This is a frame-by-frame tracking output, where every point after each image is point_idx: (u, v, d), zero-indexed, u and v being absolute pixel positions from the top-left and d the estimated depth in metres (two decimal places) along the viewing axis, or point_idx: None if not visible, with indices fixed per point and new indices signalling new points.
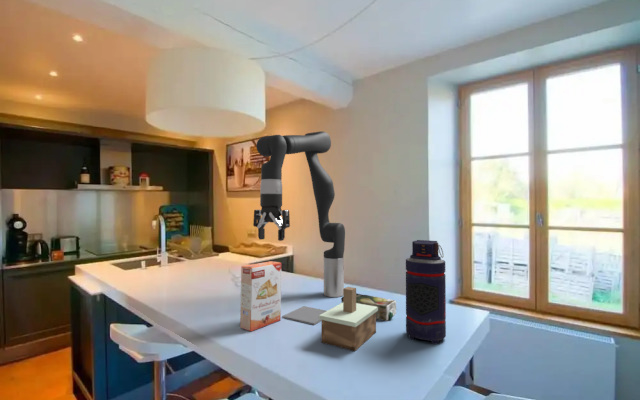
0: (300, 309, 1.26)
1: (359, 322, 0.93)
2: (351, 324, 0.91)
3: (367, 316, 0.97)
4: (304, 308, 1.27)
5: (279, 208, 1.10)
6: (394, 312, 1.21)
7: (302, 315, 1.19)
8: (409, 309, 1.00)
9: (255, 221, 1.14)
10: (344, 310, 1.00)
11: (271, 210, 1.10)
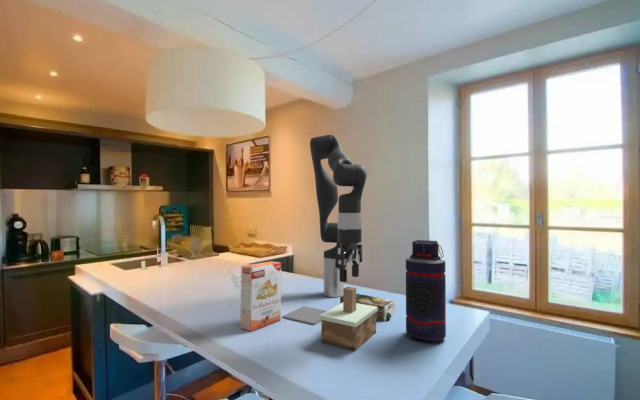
0: (300, 309, 1.26)
1: (359, 322, 0.93)
2: (351, 324, 0.91)
3: (367, 316, 0.97)
4: (304, 308, 1.27)
5: None
6: (393, 312, 1.21)
7: (302, 315, 1.19)
8: (409, 309, 1.00)
9: (343, 262, 0.95)
10: (344, 310, 1.00)
11: (354, 246, 1.01)
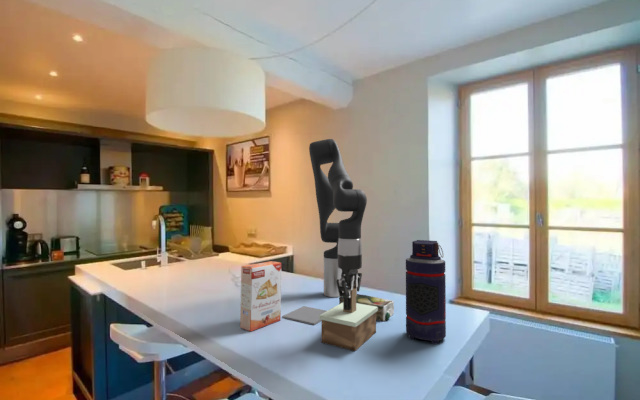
0: (300, 309, 1.26)
1: (359, 322, 0.93)
2: (351, 324, 0.91)
3: (367, 316, 0.97)
4: (304, 308, 1.27)
5: None
6: (392, 312, 1.21)
7: (302, 315, 1.19)
8: (409, 309, 1.00)
9: (346, 291, 0.97)
10: (344, 310, 1.00)
11: (354, 271, 1.01)
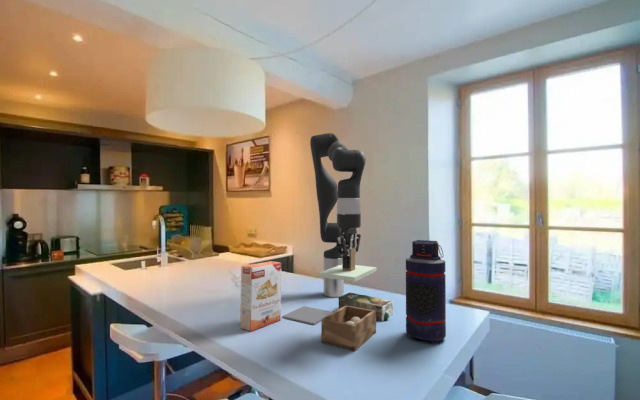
0: (300, 309, 1.26)
1: (358, 277, 0.94)
2: (350, 279, 0.92)
3: (366, 274, 0.99)
4: (304, 308, 1.27)
5: None
6: (391, 313, 1.21)
7: (302, 315, 1.19)
8: (409, 309, 1.00)
9: (345, 249, 0.98)
10: (343, 269, 1.01)
11: (353, 231, 1.02)
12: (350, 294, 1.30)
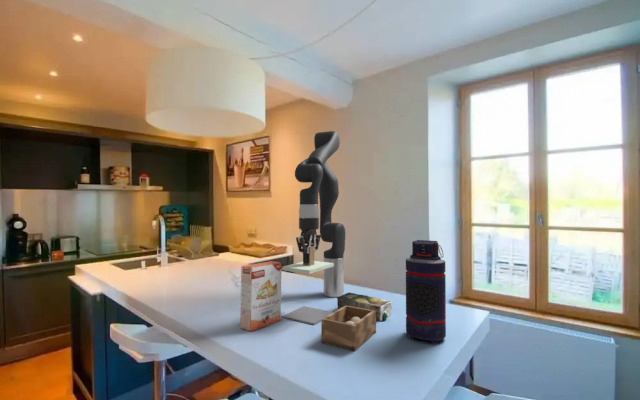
0: (300, 309, 1.26)
1: (313, 271, 1.13)
2: (306, 272, 1.11)
3: (322, 268, 1.18)
4: (304, 308, 1.27)
5: None
6: (389, 313, 1.21)
7: (302, 315, 1.19)
8: (409, 309, 1.00)
9: (304, 247, 1.17)
10: (304, 264, 1.20)
11: (312, 232, 1.22)
12: (349, 294, 1.30)
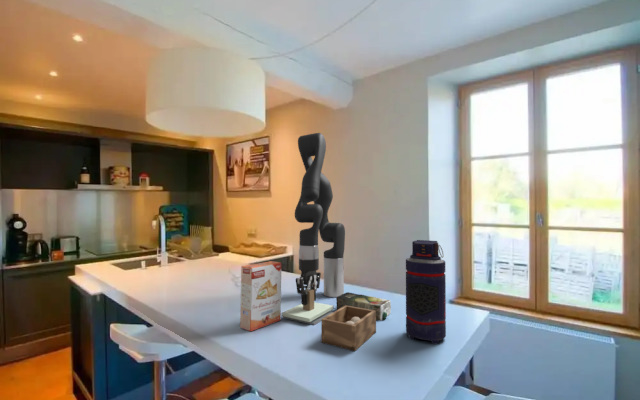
0: None
1: (313, 318, 1.13)
2: (306, 320, 1.11)
3: (322, 313, 1.18)
4: None
5: None
6: (388, 312, 1.22)
7: None
8: (409, 309, 1.00)
9: (303, 289, 1.16)
10: (304, 308, 1.20)
11: (312, 273, 1.21)
12: (348, 294, 1.30)
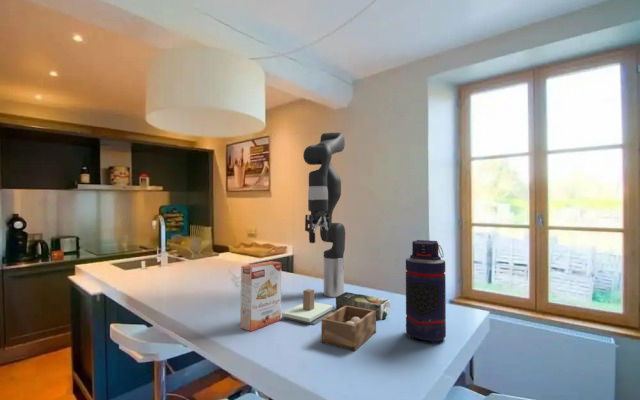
0: None
1: (313, 318, 1.13)
2: (306, 320, 1.11)
3: (322, 313, 1.18)
4: None
5: None
6: (388, 311, 1.22)
7: None
8: (409, 309, 1.00)
9: (311, 226, 1.16)
10: (304, 308, 1.20)
11: (322, 214, 1.22)
12: (347, 294, 1.31)
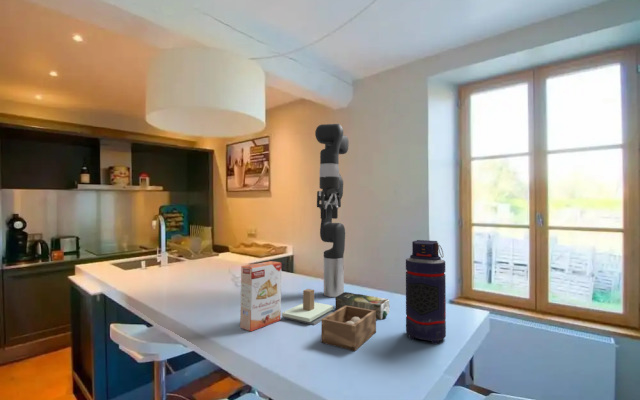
0: None
1: (313, 318, 1.13)
2: (306, 320, 1.11)
3: (322, 313, 1.18)
4: None
5: None
6: (387, 311, 1.23)
7: None
8: (409, 309, 1.00)
9: (323, 202, 1.17)
10: (304, 308, 1.20)
11: (333, 192, 1.23)
12: (346, 294, 1.31)
